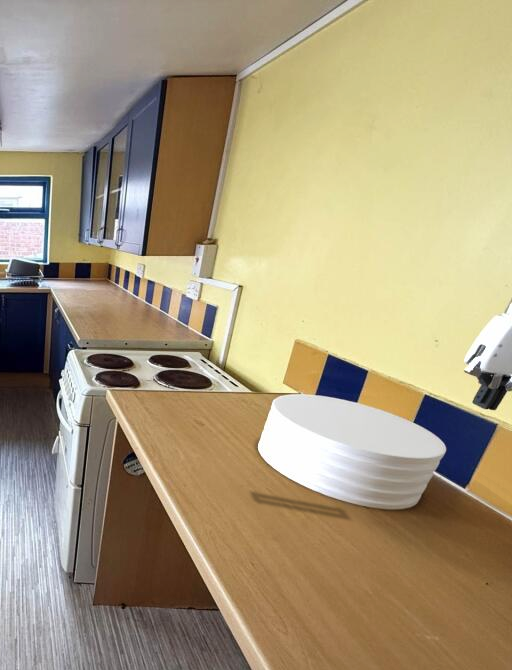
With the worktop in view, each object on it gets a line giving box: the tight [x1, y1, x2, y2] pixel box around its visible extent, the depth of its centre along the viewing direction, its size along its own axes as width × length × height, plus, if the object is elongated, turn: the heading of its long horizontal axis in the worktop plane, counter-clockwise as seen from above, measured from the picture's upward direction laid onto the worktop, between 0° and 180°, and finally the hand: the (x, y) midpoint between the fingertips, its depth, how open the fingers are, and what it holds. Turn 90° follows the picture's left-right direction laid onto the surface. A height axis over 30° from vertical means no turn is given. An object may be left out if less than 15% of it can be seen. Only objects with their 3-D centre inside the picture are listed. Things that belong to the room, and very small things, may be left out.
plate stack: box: [257, 393, 447, 510], centre depth 86 cm, size 28×28×12 cm
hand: (483, 406), depth 77 cm, fingers closed
